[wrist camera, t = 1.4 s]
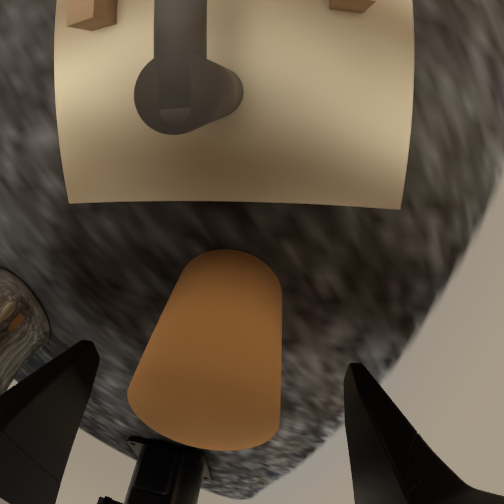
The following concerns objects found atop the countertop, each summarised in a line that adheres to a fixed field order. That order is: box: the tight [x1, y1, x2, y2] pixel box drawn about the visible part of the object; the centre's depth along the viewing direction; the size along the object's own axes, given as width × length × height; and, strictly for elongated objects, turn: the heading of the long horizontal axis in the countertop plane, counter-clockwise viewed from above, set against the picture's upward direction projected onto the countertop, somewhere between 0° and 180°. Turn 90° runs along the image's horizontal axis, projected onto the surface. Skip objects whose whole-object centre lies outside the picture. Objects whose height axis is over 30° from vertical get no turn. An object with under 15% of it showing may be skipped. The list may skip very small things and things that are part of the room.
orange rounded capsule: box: [127, 249, 282, 451], centre depth 11 cm, size 4×4×6 cm
